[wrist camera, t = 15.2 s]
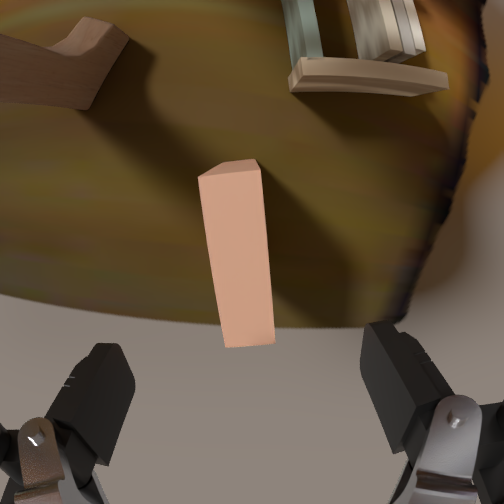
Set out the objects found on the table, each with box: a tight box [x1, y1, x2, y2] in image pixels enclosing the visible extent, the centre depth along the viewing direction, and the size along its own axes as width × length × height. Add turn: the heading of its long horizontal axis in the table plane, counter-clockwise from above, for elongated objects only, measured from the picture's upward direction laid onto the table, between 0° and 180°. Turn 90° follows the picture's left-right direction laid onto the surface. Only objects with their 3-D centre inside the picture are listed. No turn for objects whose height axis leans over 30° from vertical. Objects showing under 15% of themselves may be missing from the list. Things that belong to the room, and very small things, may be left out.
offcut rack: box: [281, 0, 449, 97], centre depth 18 cm, size 18×13×7 cm
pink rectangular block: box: [198, 159, 275, 348], centre depth 22 cm, size 10×3×14 cm, turn 6°
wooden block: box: [0, 17, 129, 110], centre depth 14 cm, size 9×4×18 cm, turn 148°
